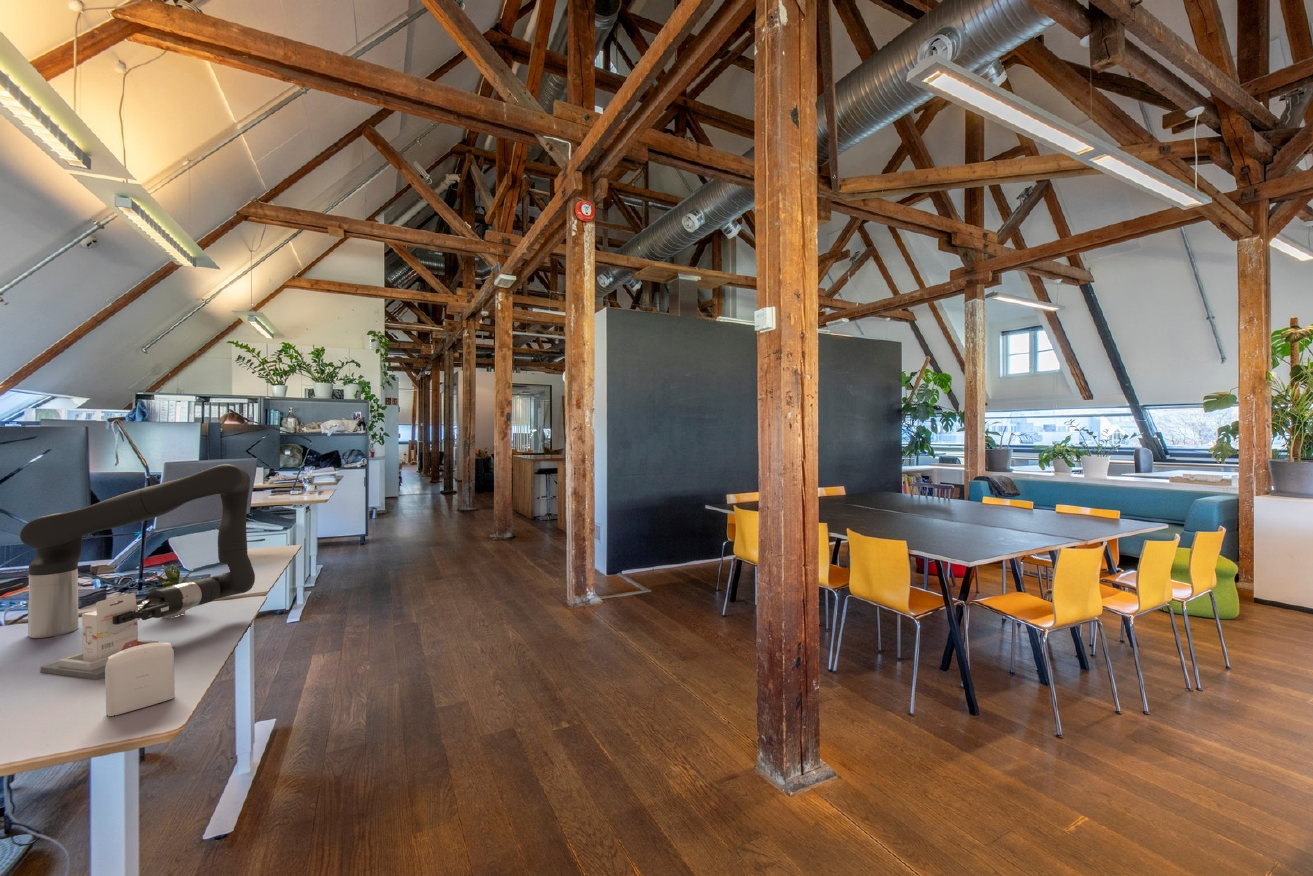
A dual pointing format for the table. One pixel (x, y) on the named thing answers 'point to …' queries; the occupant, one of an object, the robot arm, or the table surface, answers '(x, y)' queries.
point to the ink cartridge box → (108, 629)
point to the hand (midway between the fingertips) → (100, 619)
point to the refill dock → (82, 665)
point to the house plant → (171, 582)
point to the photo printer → (139, 677)
